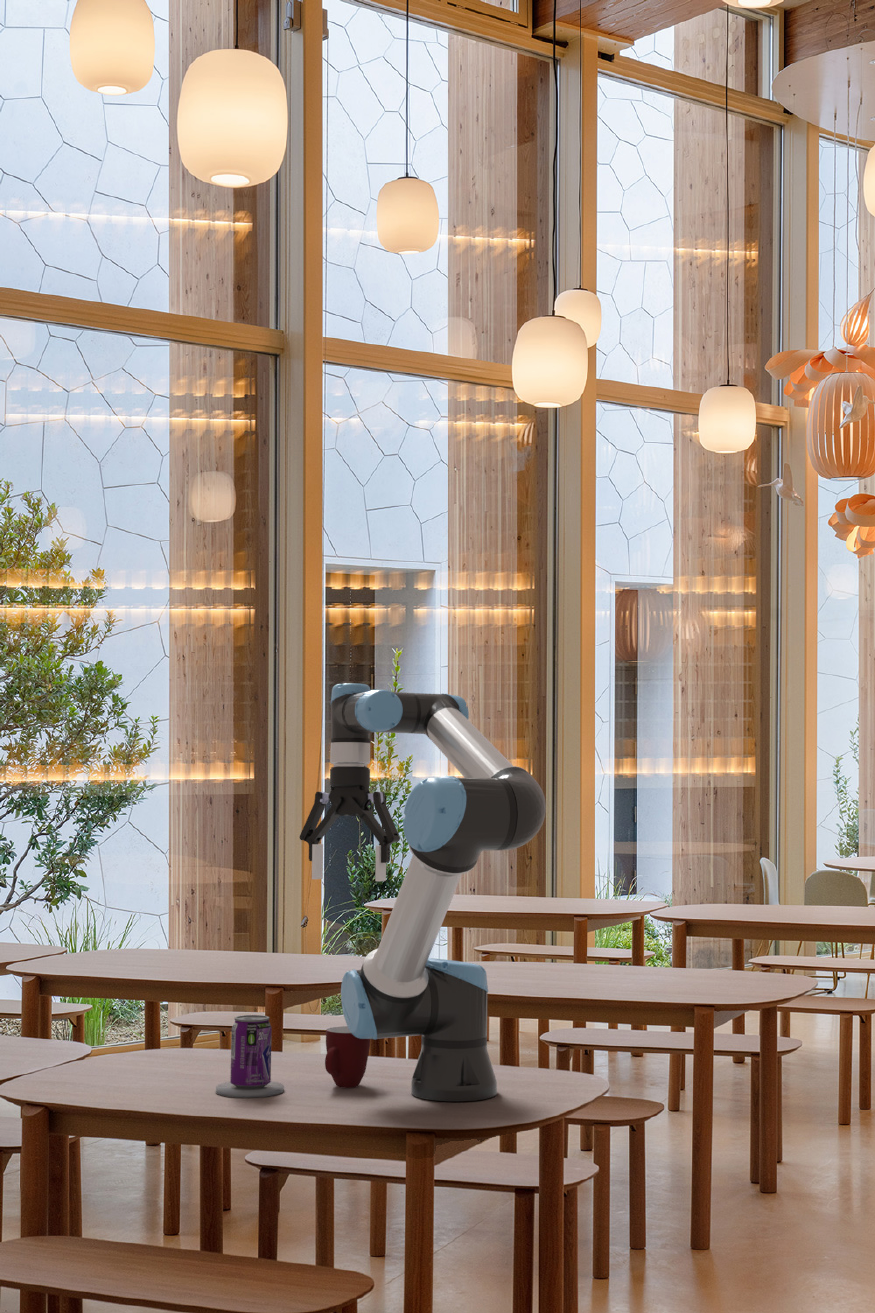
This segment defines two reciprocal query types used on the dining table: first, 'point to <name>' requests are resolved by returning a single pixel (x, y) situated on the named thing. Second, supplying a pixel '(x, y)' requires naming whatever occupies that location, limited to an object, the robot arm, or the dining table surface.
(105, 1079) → the dining table surface
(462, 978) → the robot arm
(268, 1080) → the beverage can
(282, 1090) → the coaster
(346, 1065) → the mug
